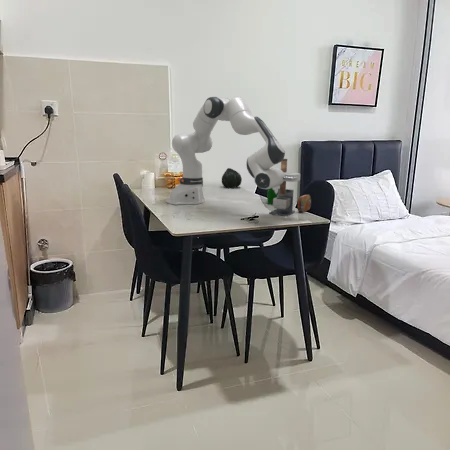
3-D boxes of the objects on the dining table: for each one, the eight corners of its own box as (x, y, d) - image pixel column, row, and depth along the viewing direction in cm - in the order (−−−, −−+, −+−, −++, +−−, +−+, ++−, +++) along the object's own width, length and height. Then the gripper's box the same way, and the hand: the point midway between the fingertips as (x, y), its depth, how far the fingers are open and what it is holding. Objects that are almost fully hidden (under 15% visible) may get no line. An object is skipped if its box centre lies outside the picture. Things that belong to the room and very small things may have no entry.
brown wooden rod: (281, 195, 205) (283, 159, 201) (278, 194, 207) (279, 158, 203) (286, 194, 206) (288, 159, 202) (283, 194, 209) (284, 158, 205)
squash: (248, 180, 296) (237, 164, 299) (236, 183, 284) (225, 166, 287) (236, 191, 305) (226, 175, 308) (224, 194, 293) (213, 178, 296)
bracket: (287, 216, 203) (289, 192, 200) (269, 214, 207) (270, 190, 205) (295, 212, 214) (296, 189, 211) (277, 210, 218) (278, 188, 215)
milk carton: (267, 201, 243) (269, 168, 238) (282, 202, 241) (284, 168, 236) (266, 204, 234) (267, 169, 230) (281, 205, 232) (283, 170, 228)
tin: (301, 213, 211) (302, 197, 209) (295, 212, 213) (296, 196, 211) (311, 209, 224) (312, 193, 222) (306, 208, 225) (307, 193, 223)
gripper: (296, 172, 188) (304, 169, 200) (255, 169, 197) (265, 167, 209) (295, 185, 189) (303, 182, 201) (254, 182, 198) (265, 179, 210)
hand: (284, 174), depth 205 cm, fingers closed on brown wooden rod, 3 cm apart
